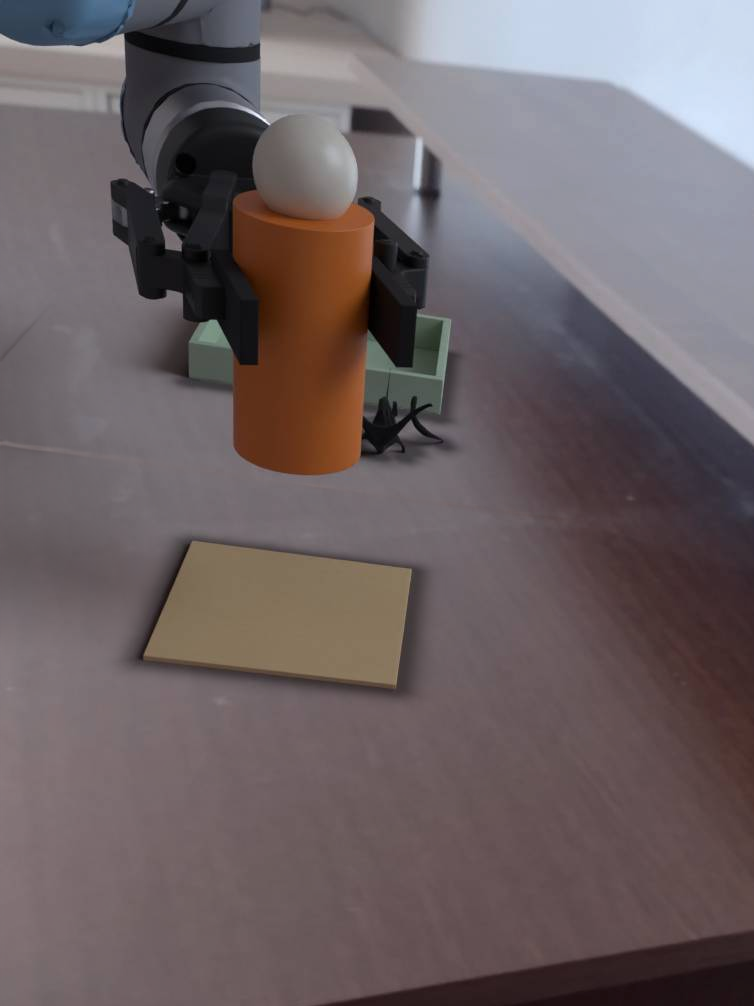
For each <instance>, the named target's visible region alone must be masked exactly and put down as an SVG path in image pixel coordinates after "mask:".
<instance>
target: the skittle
mask: <svg viewBox="0 0 754 1006" xmlns="http://www.w3.org/2000/svg"><path fill="white" fill-rule="evenodd" d="M356 159H357V158H356V155H355V153H354V151H353V149H352V147H351V144H350V143H349V141H348V140H347V139H346V137H345V136H344V134H342V132H341V131H340V130H339V129H338V128H337V127H336V126H334V125H333V124H332V123H330V122H328V121H327V120H325V119H324V118H321V117H318V116H316V115H312V114H305V113H295V114H289V115H286V116H283V117H281V118H278V119H277V120H275V121H273V122H272V123H271V124H270V126H269V127H268V128H267V129H266V130H265V131H264V132H263V134H262V135H261V136H260V138H259V140H258V142H257V145H256V148H255V150H254V155H253V164H252V167H253V176H254V182H255V185H256V188H257V190H253V191H248V192H244V193H241V194H239V195H237V196H236V197H235V198H234V200H233V258H234V260H235V261H236V263H237V265H238V266H239V268H240V270H241V271H242V273H243V275H244V276H245V278H246V280H247V281H248V283H249V285H250V286H251V288H252V290H253V291H254V293H255V295H256V296H257V298H258V300H259V332H258V365H240V364H239V362H238V360H237V358H236V356H235V354H234V352H233V384H232V445H233V448H234V451H235V453H236V454H237V455H238V456H240V458H242V459H244V460H245V461H246V462H248V463H250V464H252V465H253V466H257V467H259V468H262V469H265V470H268V471H272V472H275V473H280V474H286V475H287V474H288V475H295V476H324V475H330V474H336V473H340V472H342V471H345V470H348V469H350V468H351V467H353V466H354V465H356V464H357V463H358V462H359V460H360V459H361V452H362V442H361V438H362V436H363V428H362V421H363V416H364V404H365V403H364V387H365V370H366V354H367V337H368V320H369V303H370V286H371V269H372V253H373V236H374V216H373V215H372V213H371V212H369V211H368V210H367V209H365V208H363V207H361V206H359V205H357V204H355V203H356V202H354V203H353V201H354V200H355V196H356V194H357V189H358V183H359V169H358V164H357V160H356Z"/></svg>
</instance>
